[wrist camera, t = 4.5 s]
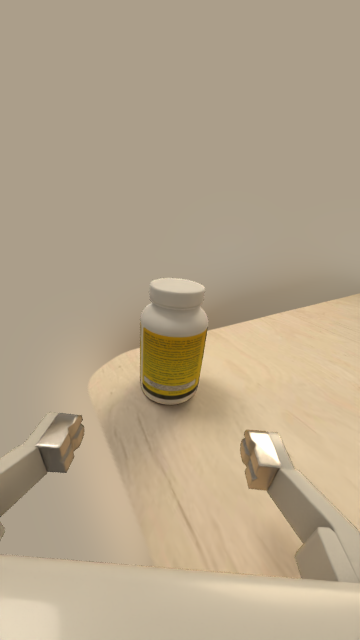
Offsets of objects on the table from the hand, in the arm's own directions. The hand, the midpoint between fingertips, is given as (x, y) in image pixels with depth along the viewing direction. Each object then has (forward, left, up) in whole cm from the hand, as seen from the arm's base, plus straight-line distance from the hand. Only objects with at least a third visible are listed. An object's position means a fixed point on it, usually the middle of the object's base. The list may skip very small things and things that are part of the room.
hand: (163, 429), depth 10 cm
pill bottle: (+8, +6, -6) cm, 12 cm away
